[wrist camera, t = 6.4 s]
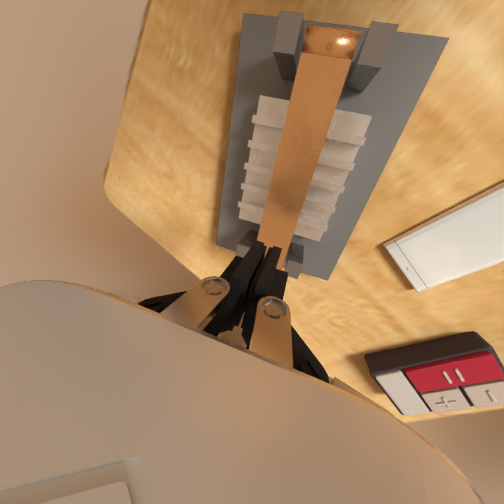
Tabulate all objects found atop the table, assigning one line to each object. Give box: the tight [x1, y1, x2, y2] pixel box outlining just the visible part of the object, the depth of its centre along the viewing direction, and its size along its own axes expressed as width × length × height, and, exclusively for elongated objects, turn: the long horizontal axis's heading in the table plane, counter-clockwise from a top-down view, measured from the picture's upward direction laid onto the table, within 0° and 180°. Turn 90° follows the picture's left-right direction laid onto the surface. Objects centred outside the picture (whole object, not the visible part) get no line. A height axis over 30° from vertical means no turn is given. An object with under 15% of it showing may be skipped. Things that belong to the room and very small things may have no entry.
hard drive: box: [383, 182, 504, 292], centre depth 21 cm, size 2×8×12 cm
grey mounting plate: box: [216, 13, 449, 280], centre depth 22 cm, size 24×17×2 cm
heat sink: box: [235, 11, 399, 279], centre depth 19 cm, size 20×10×5 cm, turn 169°
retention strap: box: [257, 25, 362, 270], centre depth 18 cm, size 20×4×2 cm, turn 169°
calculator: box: [365, 331, 504, 416], centre depth 28 cm, size 11×4×15 cm
